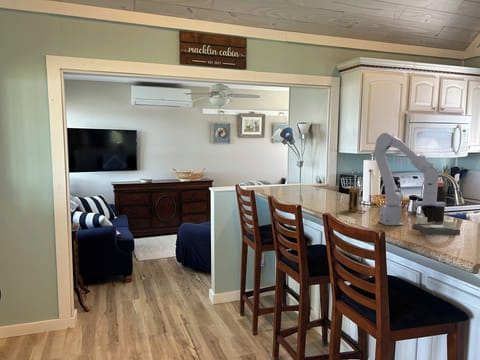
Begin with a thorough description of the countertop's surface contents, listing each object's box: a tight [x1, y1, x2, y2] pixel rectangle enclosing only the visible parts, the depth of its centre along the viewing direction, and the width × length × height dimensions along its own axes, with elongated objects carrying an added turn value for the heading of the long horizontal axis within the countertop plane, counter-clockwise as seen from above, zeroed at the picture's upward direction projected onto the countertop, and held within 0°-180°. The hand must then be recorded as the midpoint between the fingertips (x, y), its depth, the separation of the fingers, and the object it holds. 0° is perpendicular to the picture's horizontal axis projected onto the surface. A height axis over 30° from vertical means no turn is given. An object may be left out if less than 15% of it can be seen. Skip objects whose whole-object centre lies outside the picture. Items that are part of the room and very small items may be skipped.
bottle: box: [431, 181, 447, 223], centre depth 186 cm, size 7×7×20 cm
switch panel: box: [412, 222, 461, 235], centre depth 166 cm, size 14×13×2 cm
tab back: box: [416, 215, 428, 224], centre depth 170 cm, size 3×3×3 cm
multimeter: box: [347, 176, 369, 215], centre depth 208 cm, size 15×10×20 cm
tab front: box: [443, 219, 456, 229], centre depth 161 cm, size 3×3×3 cm
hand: (427, 221), depth 170 cm, fingers closed
